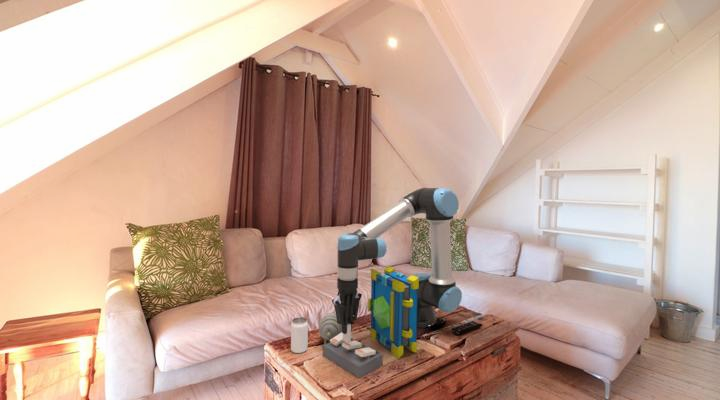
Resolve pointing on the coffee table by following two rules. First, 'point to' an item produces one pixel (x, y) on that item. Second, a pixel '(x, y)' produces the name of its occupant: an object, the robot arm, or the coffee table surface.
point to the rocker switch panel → (352, 359)
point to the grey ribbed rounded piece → (329, 327)
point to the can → (299, 335)
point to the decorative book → (394, 310)
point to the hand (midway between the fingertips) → (346, 341)
